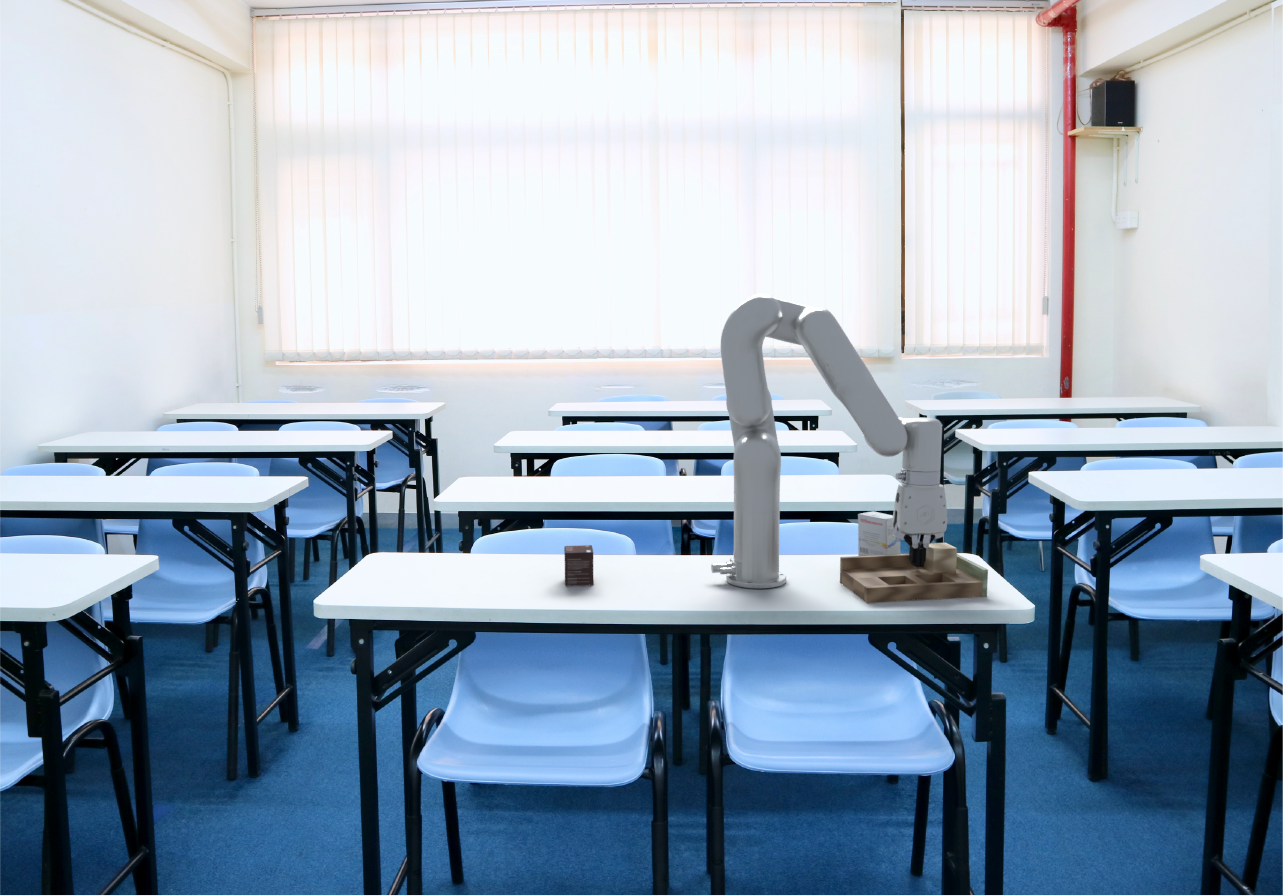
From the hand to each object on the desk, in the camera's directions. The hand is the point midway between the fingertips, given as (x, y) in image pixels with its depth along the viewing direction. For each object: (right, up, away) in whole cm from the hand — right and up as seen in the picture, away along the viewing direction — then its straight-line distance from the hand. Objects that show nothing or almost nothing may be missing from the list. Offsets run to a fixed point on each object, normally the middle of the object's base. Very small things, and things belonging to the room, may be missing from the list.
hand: (917, 565), depth 201 cm
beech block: (+5, -1, +1) cm, 5 cm away
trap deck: (-2, -5, -3) cm, 6 cm away
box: (-70, -4, +5) cm, 71 cm away
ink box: (-4, -2, +15) cm, 16 cm away
